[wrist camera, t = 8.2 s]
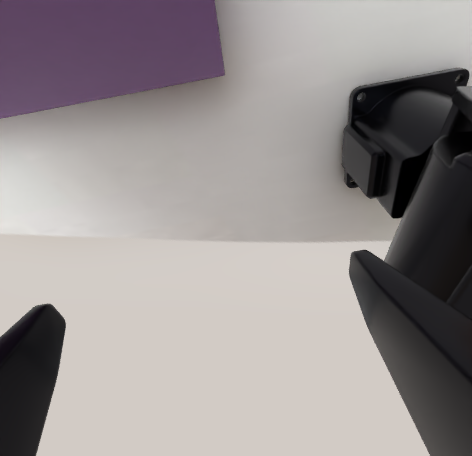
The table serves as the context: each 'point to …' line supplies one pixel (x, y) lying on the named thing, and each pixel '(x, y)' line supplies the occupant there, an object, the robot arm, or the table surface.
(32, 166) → the table surface
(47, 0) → the lid
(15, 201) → the table surface
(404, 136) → the robot arm
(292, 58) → the table surface
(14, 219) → the table surface
